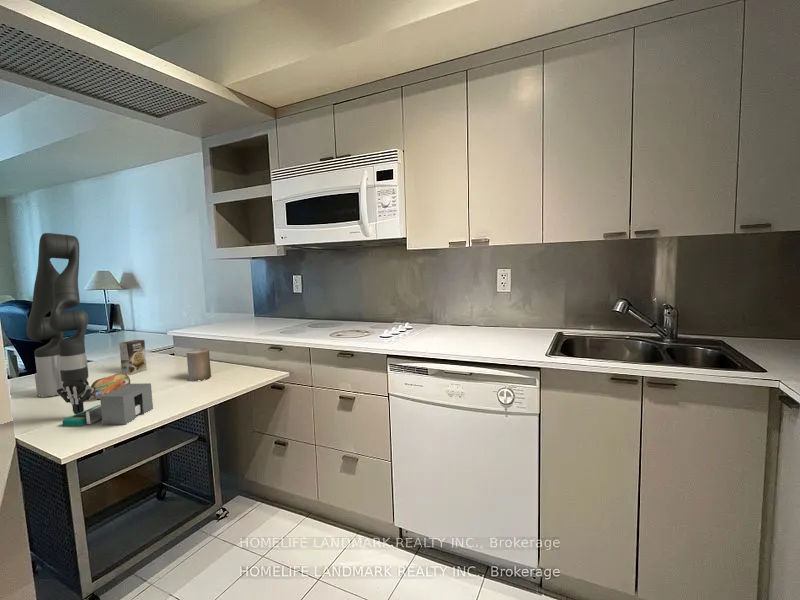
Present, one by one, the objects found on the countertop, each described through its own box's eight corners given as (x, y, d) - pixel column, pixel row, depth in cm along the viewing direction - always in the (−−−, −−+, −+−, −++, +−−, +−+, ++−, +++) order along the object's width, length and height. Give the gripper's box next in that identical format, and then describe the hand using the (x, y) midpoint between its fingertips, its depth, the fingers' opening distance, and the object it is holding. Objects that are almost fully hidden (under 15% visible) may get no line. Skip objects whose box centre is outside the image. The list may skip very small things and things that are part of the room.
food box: (131, 375, 192) (128, 343, 190) (121, 374, 193) (118, 342, 192) (147, 370, 200) (145, 339, 199) (138, 369, 202) (135, 339, 201)
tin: (95, 402, 154) (93, 381, 153) (89, 401, 155) (87, 381, 154) (131, 390, 168) (130, 371, 167) (126, 389, 169) (124, 370, 168)
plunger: (87, 424, 131) (85, 411, 131) (131, 401, 152) (130, 391, 151) (123, 423, 131) (122, 411, 130) (163, 401, 151) (162, 390, 151)
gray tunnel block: (102, 424, 131) (99, 396, 130) (132, 409, 145) (130, 383, 144) (125, 424, 131) (122, 396, 130) (153, 409, 144) (150, 383, 144)
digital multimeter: (117, 411, 144) (117, 403, 144) (80, 428, 130) (79, 419, 129) (100, 411, 145) (99, 403, 145) (61, 427, 131) (60, 419, 130)
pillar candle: (215, 376, 187) (213, 345, 186) (200, 382, 177) (198, 350, 176) (199, 375, 189) (196, 345, 188) (183, 381, 180) (180, 349, 179)
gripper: (100, 363, 140) (104, 409, 142) (65, 363, 140) (70, 409, 142) (82, 369, 132) (87, 417, 134) (45, 369, 133) (51, 417, 135)
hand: (78, 413), depth 138 cm, fingers closed
